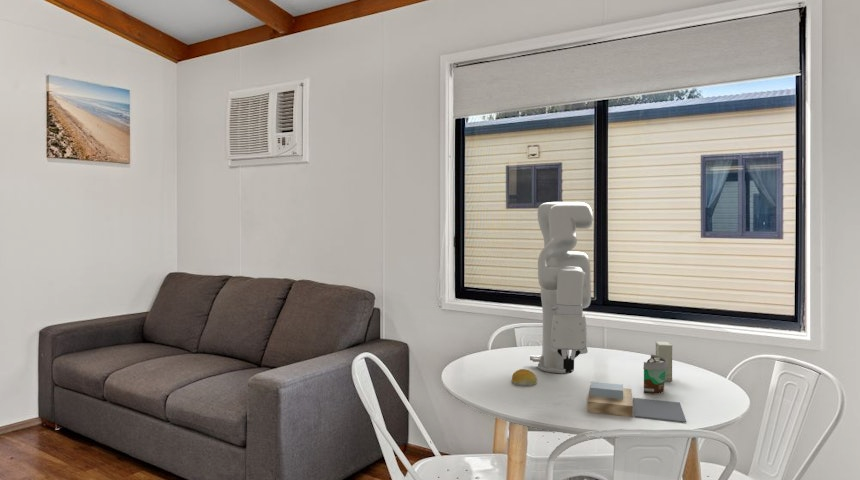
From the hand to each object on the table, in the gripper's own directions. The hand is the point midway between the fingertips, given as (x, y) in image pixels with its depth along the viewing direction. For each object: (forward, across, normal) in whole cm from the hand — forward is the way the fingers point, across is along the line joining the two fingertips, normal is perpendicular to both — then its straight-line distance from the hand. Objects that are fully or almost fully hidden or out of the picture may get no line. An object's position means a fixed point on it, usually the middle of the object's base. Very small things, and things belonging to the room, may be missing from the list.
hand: (568, 371), depth 165 cm
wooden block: (+9, +12, +1) cm, 15 cm away
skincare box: (+8, +29, +35) cm, 46 cm away
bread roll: (+9, -16, +15) cm, 24 cm away
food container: (+9, +26, +20) cm, 34 cm away
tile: (+6, +11, +1) cm, 12 cm away
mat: (+9, +25, +1) cm, 26 cm away
